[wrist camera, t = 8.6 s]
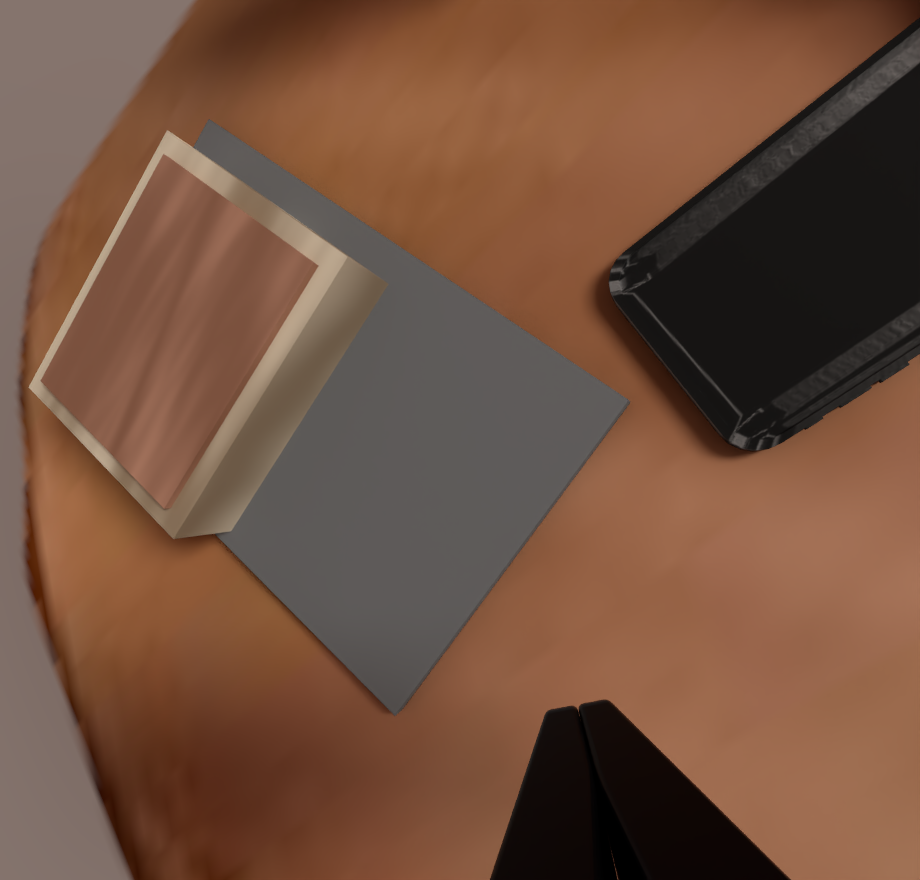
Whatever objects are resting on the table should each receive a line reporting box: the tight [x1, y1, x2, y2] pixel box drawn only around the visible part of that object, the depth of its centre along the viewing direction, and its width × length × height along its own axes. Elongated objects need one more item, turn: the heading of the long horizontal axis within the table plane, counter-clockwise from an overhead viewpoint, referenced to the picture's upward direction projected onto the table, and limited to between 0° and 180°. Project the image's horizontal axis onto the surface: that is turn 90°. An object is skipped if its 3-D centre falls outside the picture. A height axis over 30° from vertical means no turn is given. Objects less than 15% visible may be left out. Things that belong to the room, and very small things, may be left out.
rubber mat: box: [193, 119, 630, 716], centre depth 24 cm, size 22×14×1 cm, turn 53°
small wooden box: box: [29, 130, 388, 539], centre depth 23 cm, size 3×12×10 cm
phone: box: [609, 18, 920, 451], centre depth 17 cm, size 8×1×15 cm
